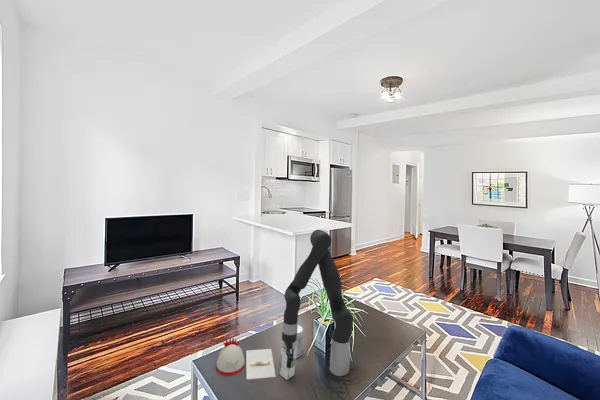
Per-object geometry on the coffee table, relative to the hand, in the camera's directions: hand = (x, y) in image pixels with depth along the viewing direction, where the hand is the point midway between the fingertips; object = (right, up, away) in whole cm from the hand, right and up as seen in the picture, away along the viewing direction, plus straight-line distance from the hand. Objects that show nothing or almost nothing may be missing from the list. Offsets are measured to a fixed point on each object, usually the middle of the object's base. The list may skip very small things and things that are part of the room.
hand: (287, 361), depth 134 cm
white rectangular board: (-15, -6, +8) cm, 18 cm away
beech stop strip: (-14, -6, +6) cm, 17 cm away
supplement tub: (+3, -6, +17) cm, 19 cm away
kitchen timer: (-29, -5, +4) cm, 30 cm away
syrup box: (0, -7, 0) cm, 7 cm away
